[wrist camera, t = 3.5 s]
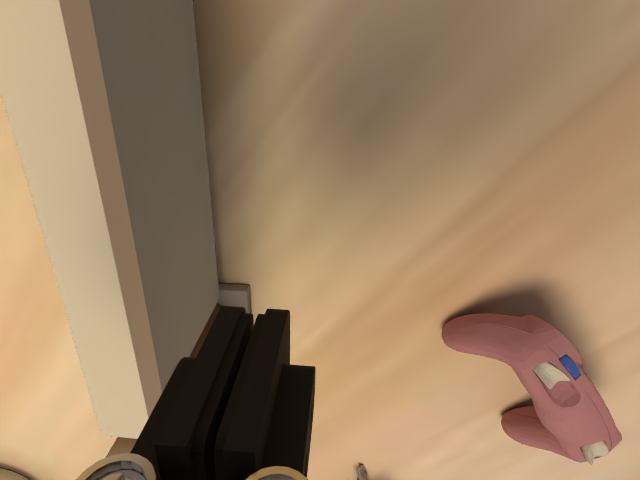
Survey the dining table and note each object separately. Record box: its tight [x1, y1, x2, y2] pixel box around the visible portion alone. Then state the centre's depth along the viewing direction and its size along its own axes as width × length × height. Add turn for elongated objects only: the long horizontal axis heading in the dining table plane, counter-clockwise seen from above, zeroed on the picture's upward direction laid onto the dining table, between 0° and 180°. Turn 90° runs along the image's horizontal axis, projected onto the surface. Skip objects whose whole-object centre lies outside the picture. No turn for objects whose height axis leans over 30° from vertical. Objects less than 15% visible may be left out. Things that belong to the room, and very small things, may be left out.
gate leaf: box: [0, 0, 220, 439], centre depth 16 cm, size 17×2×9 cm, turn 178°
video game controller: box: [442, 313, 622, 465], centre depth 23 cm, size 10×5×7 cm, turn 34°
